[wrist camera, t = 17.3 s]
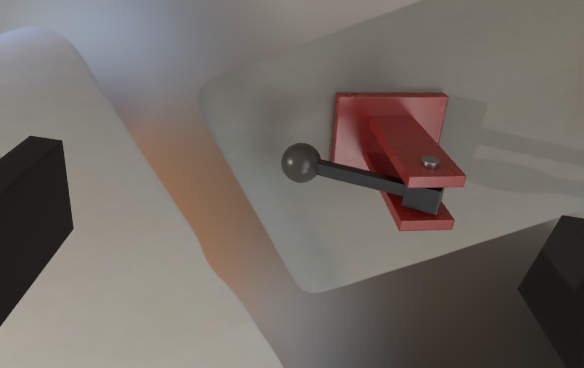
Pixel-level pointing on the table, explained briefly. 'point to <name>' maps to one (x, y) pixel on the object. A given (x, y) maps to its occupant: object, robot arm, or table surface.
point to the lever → (356, 177)
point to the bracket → (398, 147)
